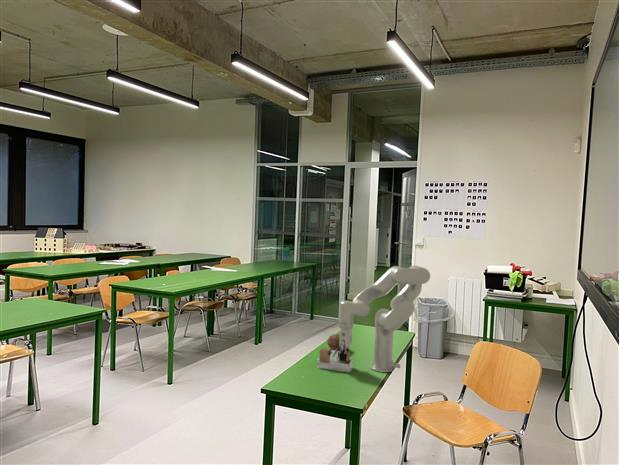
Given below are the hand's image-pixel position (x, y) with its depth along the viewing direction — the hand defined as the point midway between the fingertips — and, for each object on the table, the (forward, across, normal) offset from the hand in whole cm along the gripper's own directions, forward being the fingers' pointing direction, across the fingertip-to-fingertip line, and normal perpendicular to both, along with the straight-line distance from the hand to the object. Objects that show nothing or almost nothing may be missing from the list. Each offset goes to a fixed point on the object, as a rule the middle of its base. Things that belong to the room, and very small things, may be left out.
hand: (344, 358), depth 229 cm
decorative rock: (+6, +31, +11) cm, 34 cm away
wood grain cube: (+3, 0, 0) cm, 3 cm away
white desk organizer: (+6, 0, +4) cm, 7 cm away
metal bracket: (+6, +13, +9) cm, 17 cm away
